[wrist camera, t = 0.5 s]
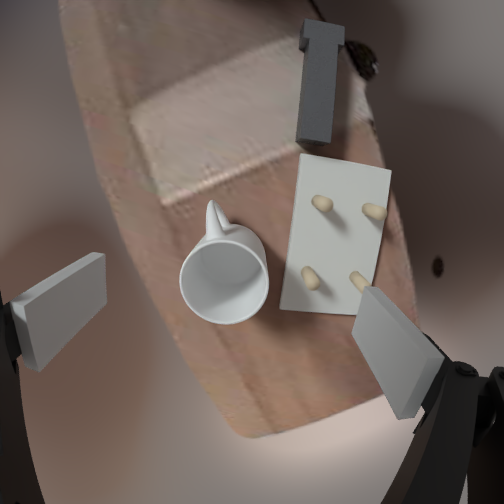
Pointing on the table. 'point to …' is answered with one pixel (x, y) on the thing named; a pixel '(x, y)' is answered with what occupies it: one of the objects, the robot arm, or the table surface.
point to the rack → (334, 234)
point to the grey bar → (318, 80)
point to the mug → (225, 271)
